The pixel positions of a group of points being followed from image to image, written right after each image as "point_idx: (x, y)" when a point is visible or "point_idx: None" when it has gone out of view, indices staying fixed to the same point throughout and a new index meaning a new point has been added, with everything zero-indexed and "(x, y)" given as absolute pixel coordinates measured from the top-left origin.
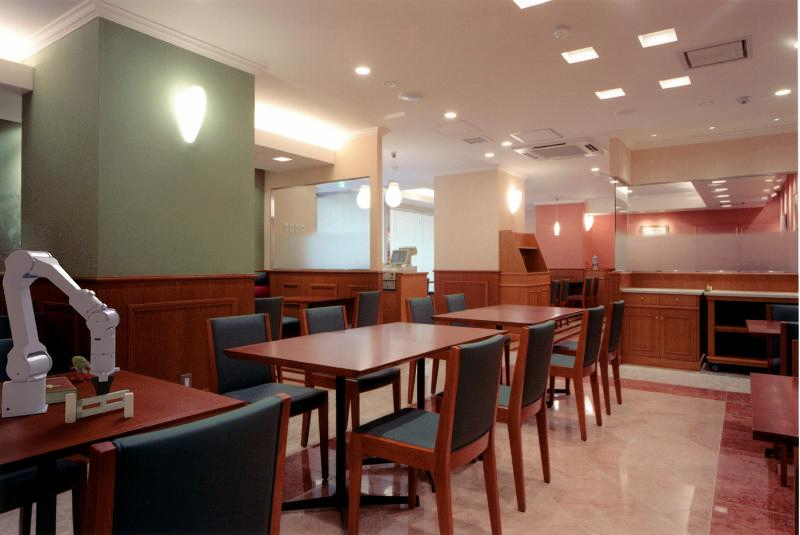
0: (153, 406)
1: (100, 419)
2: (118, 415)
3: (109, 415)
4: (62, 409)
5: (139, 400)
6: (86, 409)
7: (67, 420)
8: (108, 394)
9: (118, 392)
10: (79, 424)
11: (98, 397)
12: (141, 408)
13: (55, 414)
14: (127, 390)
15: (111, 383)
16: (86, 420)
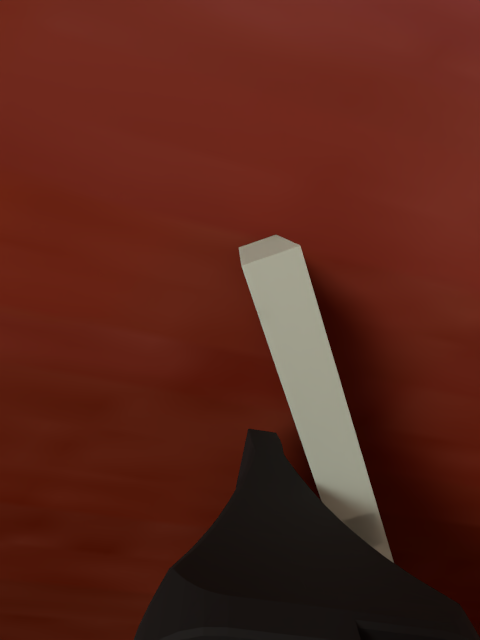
0: (374, 31)
1: (451, 461)
2: (443, 353)
3: (394, 400)
4: (20, 589)
5: (39, 77)
6: None
7: None
8: (363, 491)
9: (339, 388)
10: (466, 564)
11: None
12: (365, 151)
13: (131, 627)
14: (303, 274)
15: (404, 574)
16: (407, 525)
